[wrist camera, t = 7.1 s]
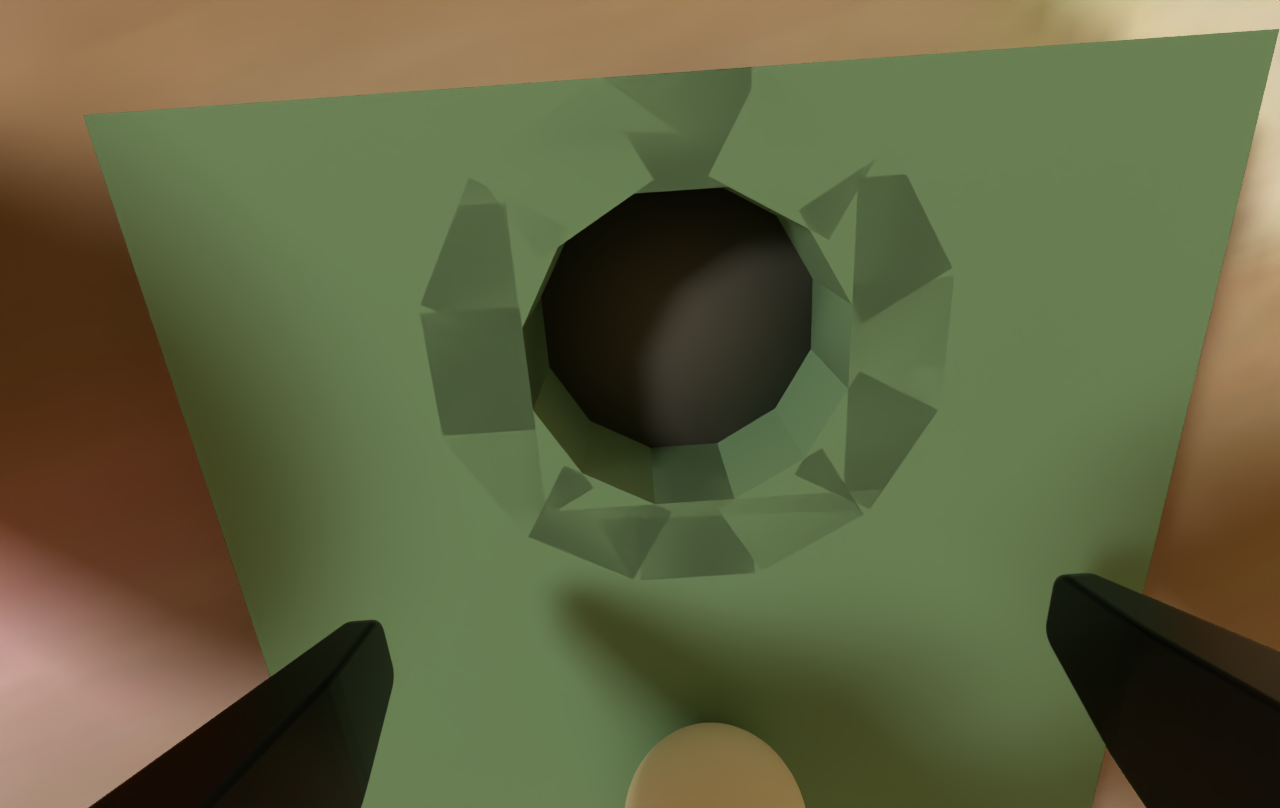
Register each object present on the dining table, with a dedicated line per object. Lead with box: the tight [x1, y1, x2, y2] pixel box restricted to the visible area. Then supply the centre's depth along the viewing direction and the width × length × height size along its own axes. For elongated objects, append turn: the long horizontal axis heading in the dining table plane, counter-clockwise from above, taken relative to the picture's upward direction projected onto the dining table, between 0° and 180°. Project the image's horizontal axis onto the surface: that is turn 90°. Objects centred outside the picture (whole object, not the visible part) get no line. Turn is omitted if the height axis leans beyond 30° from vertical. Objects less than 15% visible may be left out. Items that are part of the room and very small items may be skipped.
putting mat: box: [83, 29, 1279, 808], centre depth 14 cm, size 20×16×2 cm
